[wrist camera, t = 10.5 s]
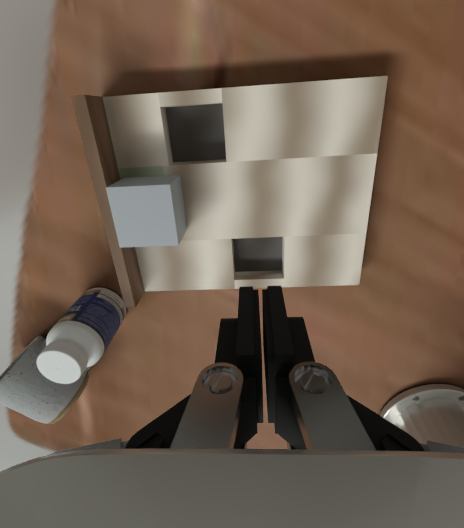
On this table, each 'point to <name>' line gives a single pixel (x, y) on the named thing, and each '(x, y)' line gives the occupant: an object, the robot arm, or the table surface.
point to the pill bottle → (81, 335)
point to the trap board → (243, 180)
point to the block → (148, 211)
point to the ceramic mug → (37, 387)
